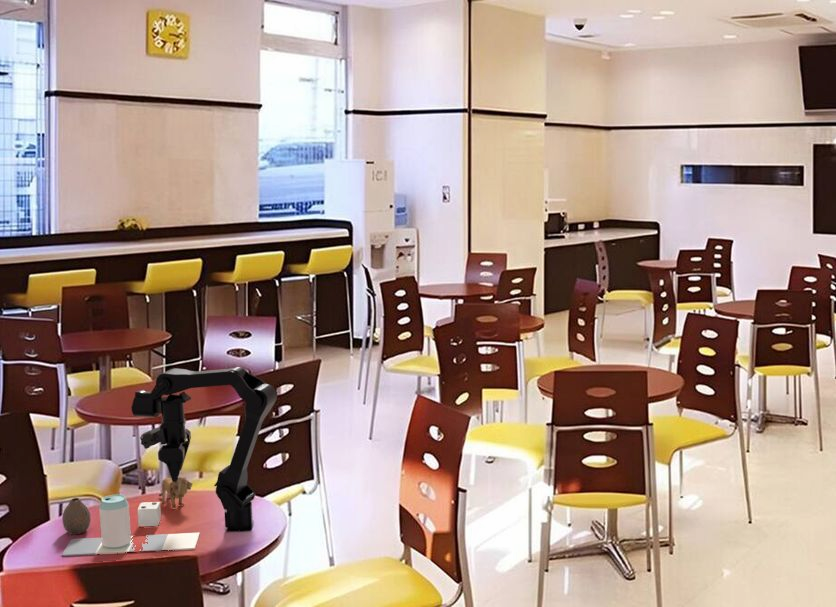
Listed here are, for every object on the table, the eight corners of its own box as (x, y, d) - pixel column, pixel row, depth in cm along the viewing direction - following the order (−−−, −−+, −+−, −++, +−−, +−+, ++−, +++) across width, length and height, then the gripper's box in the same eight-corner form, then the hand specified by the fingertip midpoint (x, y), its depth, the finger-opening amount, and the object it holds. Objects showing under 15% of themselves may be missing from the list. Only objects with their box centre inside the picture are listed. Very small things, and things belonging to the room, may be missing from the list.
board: (199, 533, 264) (199, 532, 264) (194, 549, 255) (194, 547, 254) (71, 540, 262) (71, 539, 262) (61, 556, 252) (61, 554, 252)
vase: (83, 524, 272) (81, 492, 271) (96, 531, 268) (93, 499, 266) (58, 532, 268) (56, 499, 266) (71, 539, 263) (68, 506, 261)
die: (161, 519, 275) (160, 501, 274) (158, 526, 270) (157, 507, 269) (142, 520, 274) (140, 502, 273) (138, 527, 269) (137, 508, 269)
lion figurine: (196, 507, 283) (194, 476, 282) (179, 512, 280) (177, 481, 278) (166, 495, 294) (164, 464, 292) (150, 500, 290) (148, 469, 288)
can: (104, 551, 253) (101, 505, 251) (99, 541, 259) (96, 496, 257) (133, 546, 256) (130, 500, 254) (128, 536, 262) (125, 491, 260)
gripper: (146, 410, 276) (150, 466, 279) (135, 429, 258) (139, 489, 260) (189, 408, 277) (192, 463, 280) (180, 427, 259) (184, 486, 261)
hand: (177, 475), depth 270 cm, fingers open, 9 cm apart
